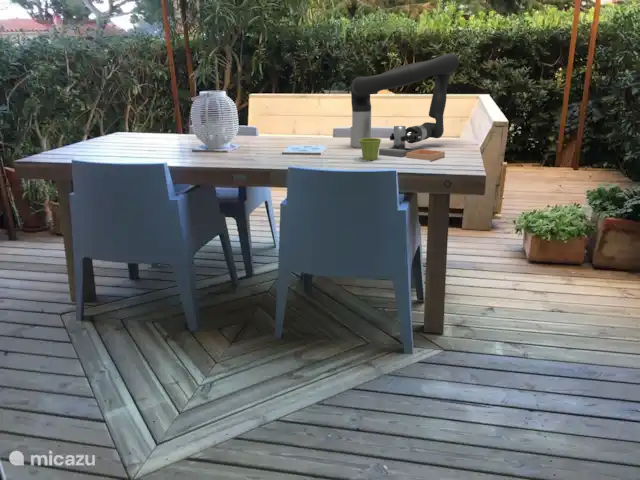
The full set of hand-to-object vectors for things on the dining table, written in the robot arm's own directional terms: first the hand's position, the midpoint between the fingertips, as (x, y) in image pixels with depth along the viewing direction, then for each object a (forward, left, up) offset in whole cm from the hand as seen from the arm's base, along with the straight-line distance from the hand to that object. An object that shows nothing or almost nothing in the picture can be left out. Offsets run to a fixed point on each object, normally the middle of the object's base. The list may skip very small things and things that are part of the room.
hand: (396, 138), depth 241 cm
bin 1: (0, +1, -8) cm, 8 cm away
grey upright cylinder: (0, +3, -7) cm, 7 cm away
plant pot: (-4, -15, -8) cm, 17 cm away
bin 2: (+14, +1, -8) cm, 16 cm away
